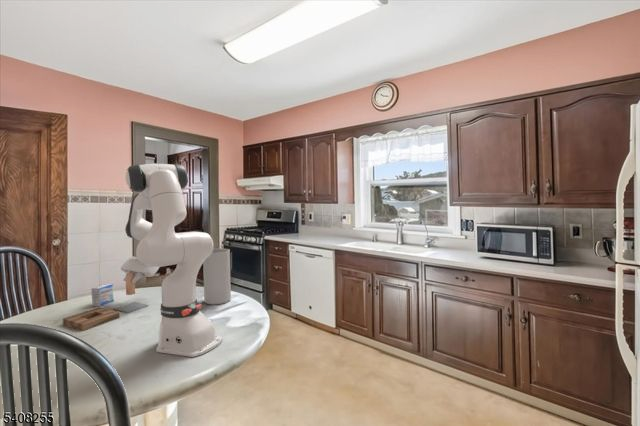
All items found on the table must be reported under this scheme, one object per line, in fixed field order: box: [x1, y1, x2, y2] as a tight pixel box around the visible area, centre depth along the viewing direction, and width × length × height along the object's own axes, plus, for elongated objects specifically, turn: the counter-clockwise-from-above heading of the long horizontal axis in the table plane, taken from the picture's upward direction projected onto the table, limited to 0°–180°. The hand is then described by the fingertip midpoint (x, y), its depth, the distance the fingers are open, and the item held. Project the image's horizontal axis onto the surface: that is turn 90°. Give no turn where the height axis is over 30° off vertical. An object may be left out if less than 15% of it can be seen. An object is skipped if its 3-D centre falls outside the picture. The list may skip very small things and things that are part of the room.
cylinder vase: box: [202, 248, 232, 306], centre depth 154 cm, size 12×12×25 cm
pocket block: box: [62, 306, 120, 332], centre depth 131 cm, size 14×14×2 cm
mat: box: [113, 301, 149, 314], centre depth 146 cm, size 10×10×1 cm
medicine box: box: [91, 283, 115, 307], centre depth 152 cm, size 8×4×9 cm, turn 168°
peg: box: [125, 274, 136, 296], centre depth 146 cm, size 4×4×9 cm
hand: (128, 281), depth 145 cm, fingers closed on peg, 4 cm apart
